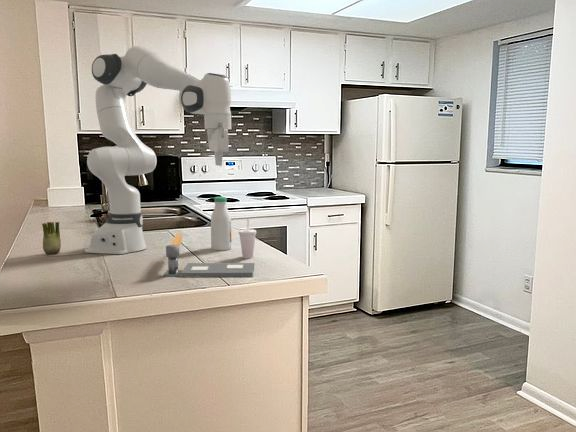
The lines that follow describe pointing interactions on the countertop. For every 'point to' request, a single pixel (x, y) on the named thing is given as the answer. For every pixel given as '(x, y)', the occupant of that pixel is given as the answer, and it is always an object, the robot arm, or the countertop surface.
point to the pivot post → (173, 267)
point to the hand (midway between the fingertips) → (218, 165)
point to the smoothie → (247, 241)
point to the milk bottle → (220, 225)
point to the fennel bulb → (51, 238)
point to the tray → (218, 269)
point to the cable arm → (174, 247)
